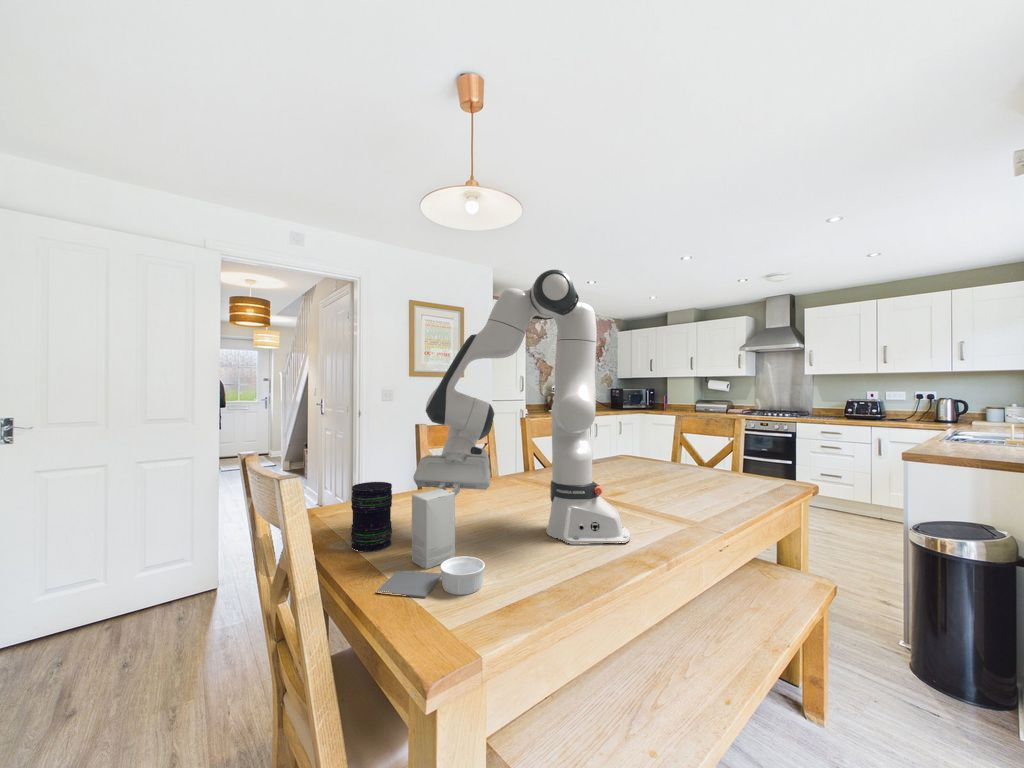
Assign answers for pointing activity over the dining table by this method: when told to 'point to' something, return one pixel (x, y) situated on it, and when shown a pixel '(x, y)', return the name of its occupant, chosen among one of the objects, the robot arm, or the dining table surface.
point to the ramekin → (462, 575)
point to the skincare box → (433, 527)
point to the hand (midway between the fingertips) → (446, 501)
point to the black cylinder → (371, 516)
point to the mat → (411, 583)
